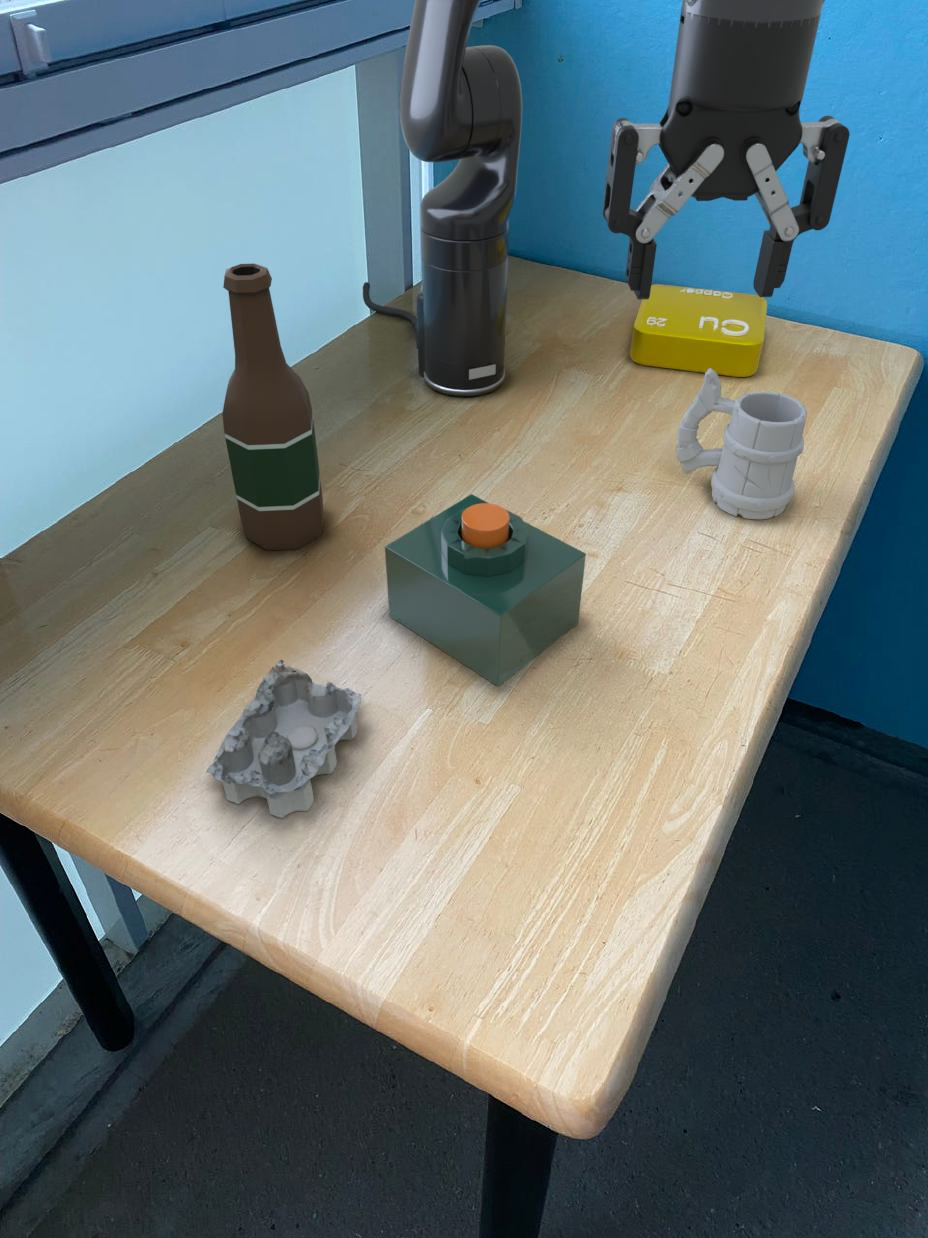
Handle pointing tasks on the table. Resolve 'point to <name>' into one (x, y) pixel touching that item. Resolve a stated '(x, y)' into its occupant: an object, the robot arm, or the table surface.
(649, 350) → the element tile
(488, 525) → the orange button
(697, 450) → the mug
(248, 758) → the egg carton
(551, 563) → the green button block
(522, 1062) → the table surface
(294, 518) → the beer bottle
